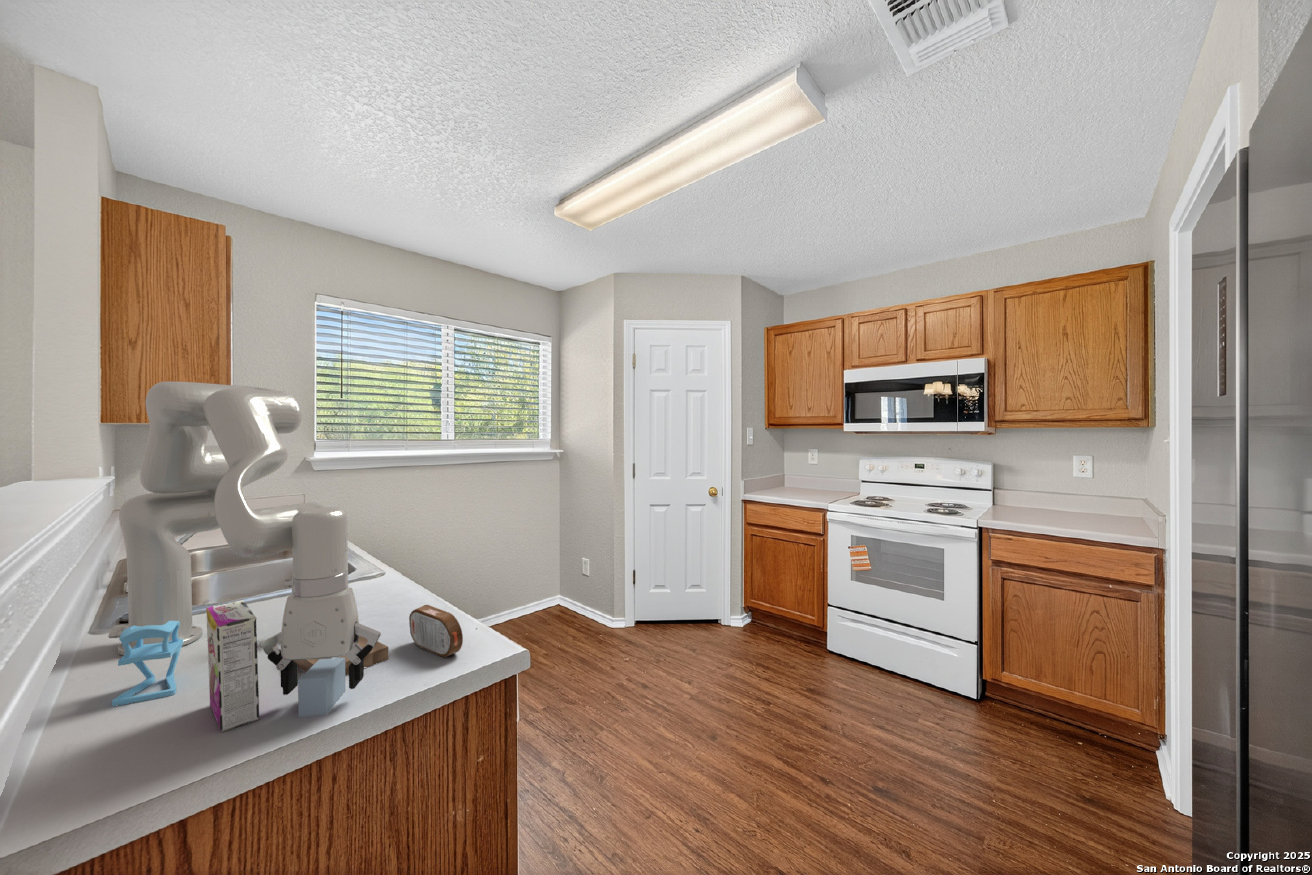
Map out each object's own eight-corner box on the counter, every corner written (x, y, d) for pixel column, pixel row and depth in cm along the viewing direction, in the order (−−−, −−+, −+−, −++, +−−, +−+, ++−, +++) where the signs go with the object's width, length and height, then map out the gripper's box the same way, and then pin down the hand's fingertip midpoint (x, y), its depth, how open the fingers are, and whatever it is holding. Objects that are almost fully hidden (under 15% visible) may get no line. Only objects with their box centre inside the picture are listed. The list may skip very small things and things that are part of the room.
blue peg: (298, 717, 79) (297, 679, 79) (319, 694, 86) (319, 659, 86) (326, 714, 80) (326, 677, 80) (345, 691, 87) (345, 657, 86)
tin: (464, 657, 99) (464, 615, 99) (450, 663, 97) (449, 620, 97) (420, 639, 108) (420, 600, 108) (406, 644, 105) (406, 604, 105)
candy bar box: (206, 706, 82) (204, 606, 81) (246, 694, 86) (244, 598, 85) (218, 735, 74) (216, 625, 74) (260, 720, 78) (258, 615, 78)
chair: (190, 674, 93) (189, 609, 92) (174, 695, 85) (173, 624, 85) (132, 684, 89) (131, 617, 89) (110, 707, 82) (109, 633, 81)
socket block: (322, 684, 89) (322, 663, 89) (289, 661, 97) (289, 642, 97) (388, 659, 98) (388, 640, 98) (353, 640, 107) (352, 623, 107)
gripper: (247, 595, 77) (249, 705, 77) (370, 588, 80) (371, 694, 80) (275, 580, 84) (277, 681, 85) (386, 574, 87) (387, 671, 88)
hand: (323, 687), depth 83 cm, fingers open, 9 cm apart
